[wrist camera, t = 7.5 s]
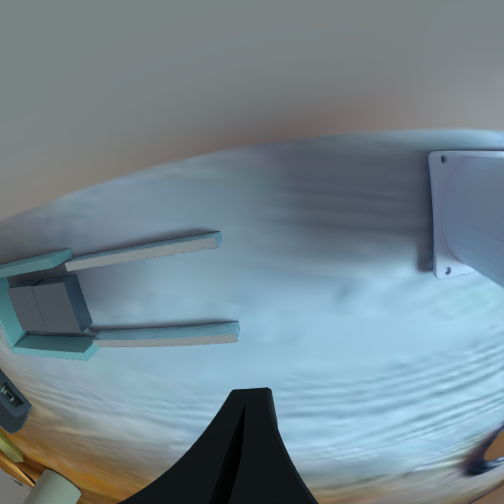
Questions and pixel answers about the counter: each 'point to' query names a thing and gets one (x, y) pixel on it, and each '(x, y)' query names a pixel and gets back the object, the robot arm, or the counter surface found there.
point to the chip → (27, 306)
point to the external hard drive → (12, 406)
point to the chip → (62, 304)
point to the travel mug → (53, 490)
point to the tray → (36, 345)
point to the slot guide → (166, 334)
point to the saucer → (10, 449)
